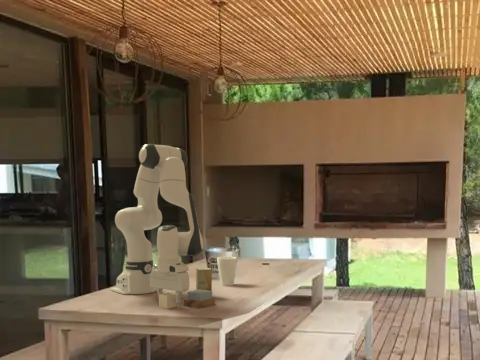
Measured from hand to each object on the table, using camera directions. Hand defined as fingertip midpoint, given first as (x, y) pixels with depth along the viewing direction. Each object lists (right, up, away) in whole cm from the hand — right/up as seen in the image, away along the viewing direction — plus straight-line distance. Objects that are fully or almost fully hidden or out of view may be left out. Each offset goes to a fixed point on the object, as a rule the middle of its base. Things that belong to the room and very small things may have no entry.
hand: (169, 300), depth 224 cm
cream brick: (-1, -3, 0) cm, 3 cm away
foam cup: (+22, -3, +48) cm, 53 cm away
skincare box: (+13, -3, +19) cm, 23 cm away
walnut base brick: (+12, -3, +2) cm, 12 cm away
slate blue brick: (+12, 0, +2) cm, 12 cm away
